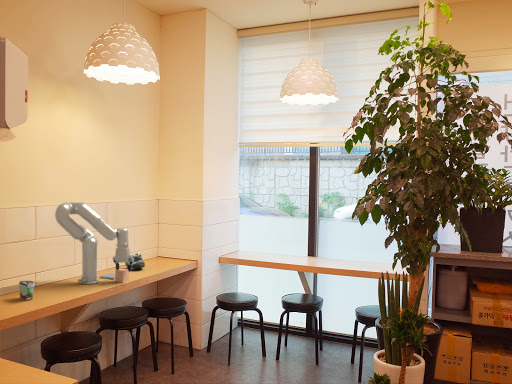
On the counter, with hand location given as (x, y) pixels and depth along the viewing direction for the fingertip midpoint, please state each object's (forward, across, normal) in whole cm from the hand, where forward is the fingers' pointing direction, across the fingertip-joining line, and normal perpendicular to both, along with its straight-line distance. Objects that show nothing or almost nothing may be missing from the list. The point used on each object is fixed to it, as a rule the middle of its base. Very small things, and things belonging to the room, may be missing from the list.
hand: (123, 269), depth 329 cm
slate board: (+8, -15, +7) cm, 18 cm away
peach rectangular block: (+8, -1, -1) cm, 8 cm away
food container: (+6, -25, -61) cm, 66 cm away
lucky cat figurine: (+8, -15, +36) cm, 40 cm away
